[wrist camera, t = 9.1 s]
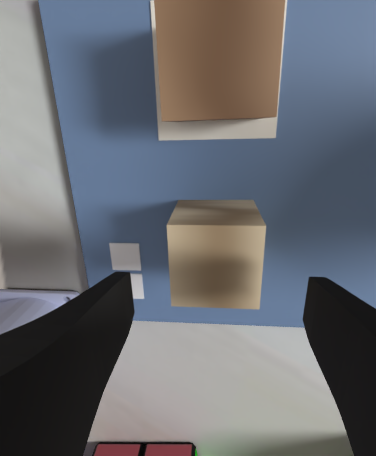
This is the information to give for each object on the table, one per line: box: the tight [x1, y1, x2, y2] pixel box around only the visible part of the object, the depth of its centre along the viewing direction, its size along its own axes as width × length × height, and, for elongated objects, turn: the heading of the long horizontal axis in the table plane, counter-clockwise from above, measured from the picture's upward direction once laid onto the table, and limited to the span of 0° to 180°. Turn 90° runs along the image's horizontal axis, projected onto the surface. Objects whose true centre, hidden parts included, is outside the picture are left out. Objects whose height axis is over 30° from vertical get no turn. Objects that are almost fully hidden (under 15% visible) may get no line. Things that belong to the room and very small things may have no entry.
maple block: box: [167, 200, 266, 309], centre depth 15 cm, size 4×4×4 cm
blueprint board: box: [38, 0, 376, 328], centre depth 17 cm, size 24×20×1 cm
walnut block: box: [154, 0, 285, 122], centre depth 12 cm, size 4×4×4 cm
